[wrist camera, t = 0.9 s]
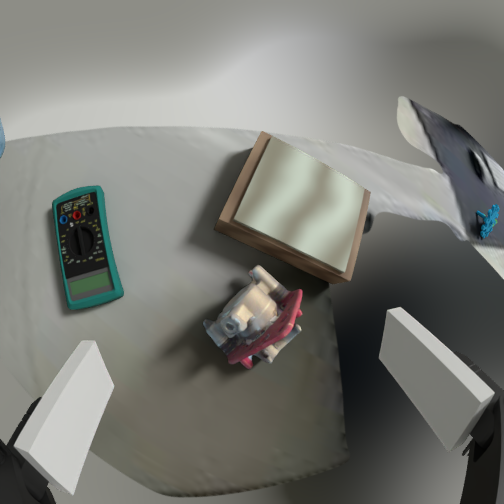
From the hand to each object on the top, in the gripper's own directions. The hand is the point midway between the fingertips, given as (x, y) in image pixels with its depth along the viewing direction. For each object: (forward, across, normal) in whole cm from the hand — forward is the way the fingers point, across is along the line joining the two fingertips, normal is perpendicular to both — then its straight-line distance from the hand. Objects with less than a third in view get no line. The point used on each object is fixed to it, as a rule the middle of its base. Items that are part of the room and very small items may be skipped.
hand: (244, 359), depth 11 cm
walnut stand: (+28, +9, +2) cm, 30 cm away
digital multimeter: (+22, -19, +1) cm, 29 cm away
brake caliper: (+21, +1, -10) cm, 24 cm away
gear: (+39, +65, -6) cm, 76 cm away
